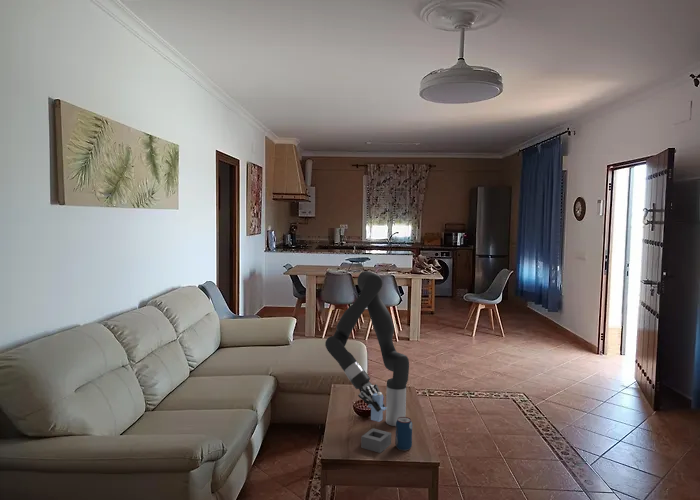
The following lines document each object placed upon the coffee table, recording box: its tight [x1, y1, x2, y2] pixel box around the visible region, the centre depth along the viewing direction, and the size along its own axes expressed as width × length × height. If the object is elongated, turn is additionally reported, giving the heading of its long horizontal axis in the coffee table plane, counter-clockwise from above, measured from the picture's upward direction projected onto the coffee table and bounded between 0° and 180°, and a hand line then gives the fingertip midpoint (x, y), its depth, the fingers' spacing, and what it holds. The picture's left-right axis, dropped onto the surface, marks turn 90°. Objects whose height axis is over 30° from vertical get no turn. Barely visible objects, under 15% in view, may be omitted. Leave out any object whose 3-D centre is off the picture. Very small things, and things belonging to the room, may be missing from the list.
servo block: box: [367, 391, 387, 423], centre depth 205 cm, size 8×3×12 cm, turn 59°
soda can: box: [394, 416, 413, 451], centre depth 205 cm, size 7×7×12 cm
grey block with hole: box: [360, 428, 392, 454], centre depth 206 cm, size 10×9×5 cm
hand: (381, 409), depth 204 cm, fingers closed on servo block, 3 cm apart
